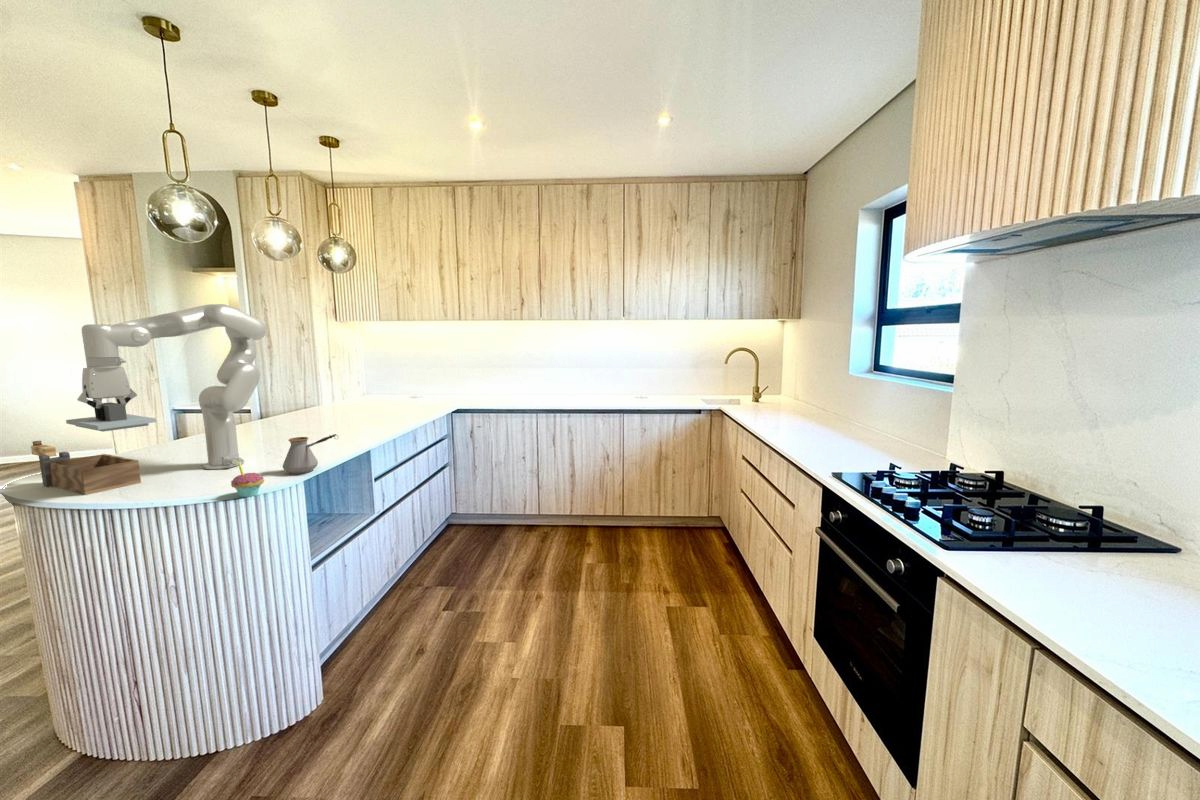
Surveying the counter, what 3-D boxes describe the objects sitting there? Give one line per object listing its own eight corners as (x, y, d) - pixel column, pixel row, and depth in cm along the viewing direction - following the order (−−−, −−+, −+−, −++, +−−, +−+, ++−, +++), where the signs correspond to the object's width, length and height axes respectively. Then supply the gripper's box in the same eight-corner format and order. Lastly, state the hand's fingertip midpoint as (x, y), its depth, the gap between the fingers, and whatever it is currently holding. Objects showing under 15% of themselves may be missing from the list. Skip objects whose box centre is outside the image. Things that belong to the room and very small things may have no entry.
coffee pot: (275, 475, 173) (272, 435, 171) (297, 466, 185) (294, 429, 183) (329, 477, 172) (326, 437, 170) (349, 468, 183) (346, 431, 181)
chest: (141, 482, 164) (137, 453, 162) (80, 496, 150) (76, 463, 148) (103, 474, 173) (99, 446, 172) (43, 486, 159) (38, 455, 158)
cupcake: (239, 501, 147) (235, 463, 145) (227, 496, 151) (223, 459, 149) (269, 493, 154) (266, 457, 152) (258, 488, 158) (254, 454, 157)
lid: (156, 425, 156) (154, 403, 155) (98, 432, 143) (95, 409, 142) (124, 419, 165) (121, 399, 164) (67, 426, 152) (63, 404, 151)
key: (56, 455, 162) (54, 442, 161) (45, 457, 160) (43, 444, 159) (42, 452, 166) (40, 440, 165) (32, 454, 164) (30, 441, 163)
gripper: (131, 361, 160) (139, 414, 162) (60, 364, 145) (69, 422, 147) (143, 362, 157) (150, 415, 159) (71, 365, 142) (80, 424, 144)
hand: (111, 418), depth 153 cm, fingers closed on lid, 4 cm apart
